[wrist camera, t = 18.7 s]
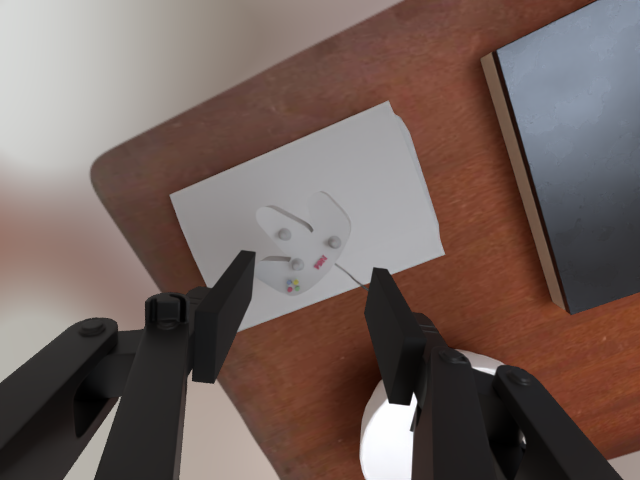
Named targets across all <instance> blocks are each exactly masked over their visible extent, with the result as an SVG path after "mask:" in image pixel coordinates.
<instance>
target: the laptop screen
mask: <svg viewBox="0 0 640 480" xmlns="http://www.w3.org/2000/svg"><path fill="white" fill-rule="evenodd" d="M492 56H493V59H494V63H495V66H496V70H497V73H498V77H499V80H500V83H501V87H502V90H503V94H504V97H505V101H506V104H507V108H508V111H509V115H510V118H511V122H512V125H513V129H514V132H515V136H516V139H517V143H518V146H519V149H520V153H521V156H522V160H523V163H524V167H525V170H526V174H527V177H528V181H529V184H530V188H531V191H532V195H533V198H534V202H535V205H536V209H537V212H538V216H539V219H540V222H541V226H542V229H543V233H544V236H545V240H546V243H547V247H548V250H549V254H550V257H551V261H552V264H553V268H554V271H555V275H556V278H557V282H558V285H559V288H560V292H561V295H562V299H563V302H564V306H565V309H566V311H567V312H568V313H569V314H571V315H573V314H576V313H579V312H582V311H585V310H588V309H591V308H594V307H597V306H600V305H603V304H605V303H608V302H611V301H614V300H617V299H620V298H623V297H626V296H629V295H632V294H635V293H638V292H640V0H596V1H594V2H592V3H590V4H588V5H586V6H584V7H582V8H580V9H578V10H576V11H574V12H572V13H570V14H568V15H566V16H564V17H562V18H560V19H558V20H556V21H554V22H552V23H549V24H547V25H545V26H543V27H541V28H539V29H537V30H535V31H533V32H531V33H529V34H527V35H525V36H523V37H521V38H519V39H517V40H515V41H513V42H511V43H509V44H507V45H505V46H503V47H501V48H499V49H497V50H495V51H493V52H492Z"/></svg>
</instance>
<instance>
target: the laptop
mask: <svg viewBox="0 0 640 480" xmlns="http://www.w3.org/2000/svg"><path fill="white" fill-rule="evenodd" d="M480 60H481V63H482V67H483V70H484V74H485V77H486V80H487V84H488V87H489V90H490V94H491V97H492V100H493V104H494V107H495V110H496V114H497V117H498V121H499V124H500V127H501V131H502V134H503V137H504V141H505V144H506V147H507V151H508V154H509V157H510V161H511V164H512V168H513V171H514V174H515V178H516V181H517V184H518V188H519V191H520V194H521V198H522V201H523V204H524V208H525V211H526V215H527V218H528V221H529V225H530V228H531V231H532V235H533V238H534V241H535V245H536V248H537V251H538V255H539V258H540V262H541V265H542V268H543V272H544V275H545V278H546V282H547V285H548V288H549V292H550V295H551V298H552V302H553V303H555V304H556V305H558V306H559V307H561V308H562V309H564V310H566V309H565V306H564V302H563V299H562V295H561V292H560V288H559V285H558V282H557V278H556V275H555V271H554V268H553V264H552V261H551V257H550V254H549V250H548V247H547V243H546V240H545V236H544V233H543V229H542V226H541V222H540V219H539V216H538V212H537V209H536V205H535V202H534V198H533V195H532V191H531V188H530V184H529V181H528V177H527V174H526V170H525V167H524V163H523V160H522V156H521V153H520V149H519V146H518V143H517V139H516V136H515V132H514V129H513V125H512V122H511V118H510V115H509V111H508V108H507V104H506V101H505V97H504V94H503V90H502V87H501V83H500V80H499V77H498V73H497V70H496V66H495V63H494V59H493V56H492V52H491V53H490V54H488V55H486V56H484V57H482V58H481V59H480Z"/></svg>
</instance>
